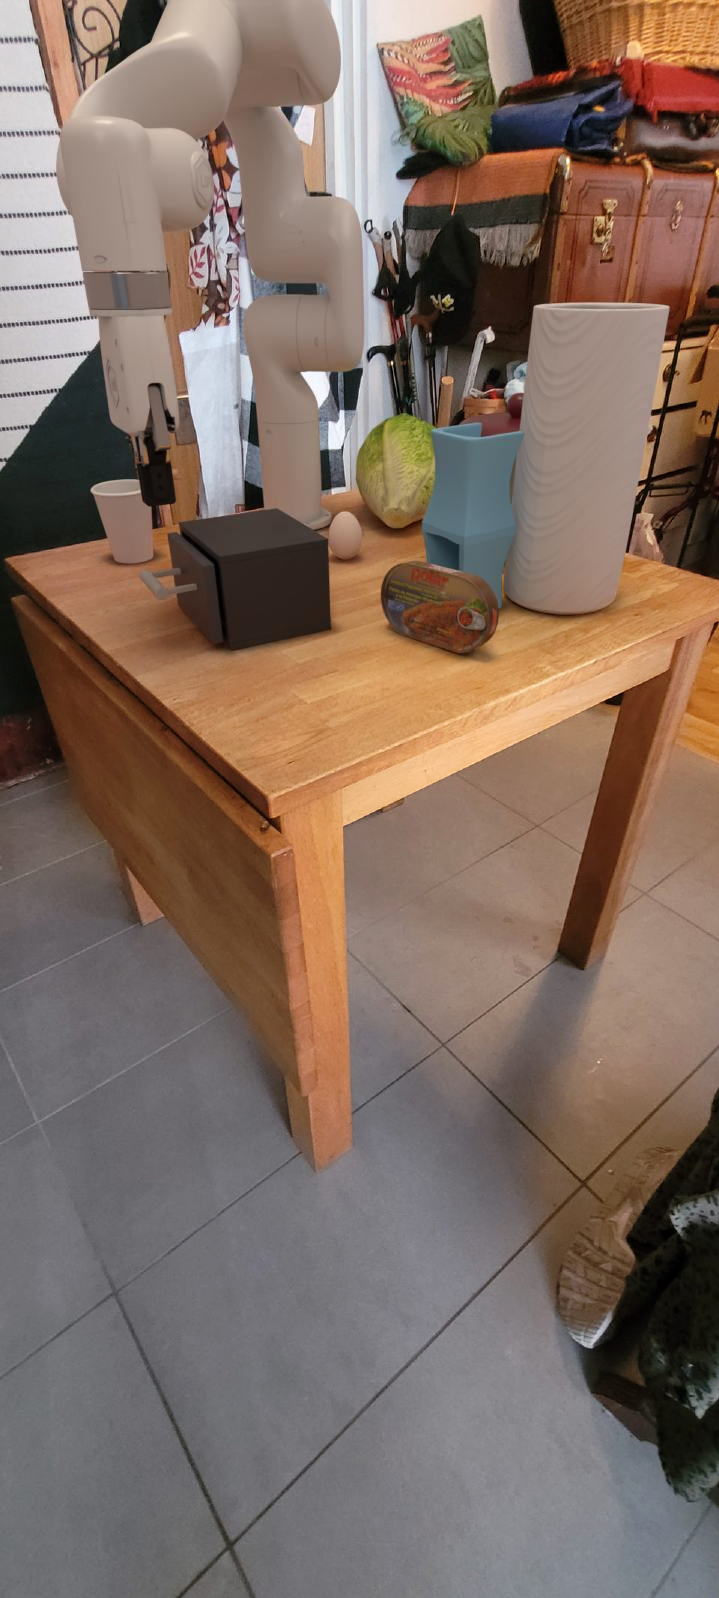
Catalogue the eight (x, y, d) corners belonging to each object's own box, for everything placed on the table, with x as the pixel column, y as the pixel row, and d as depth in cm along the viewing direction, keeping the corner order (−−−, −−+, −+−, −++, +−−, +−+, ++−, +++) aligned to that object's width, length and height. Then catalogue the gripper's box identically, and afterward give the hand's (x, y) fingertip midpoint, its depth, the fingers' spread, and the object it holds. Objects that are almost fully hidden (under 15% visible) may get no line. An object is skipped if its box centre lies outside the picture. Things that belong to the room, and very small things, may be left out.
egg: (322, 560, 111) (320, 512, 107) (341, 551, 114) (341, 505, 111) (349, 566, 109) (348, 518, 105) (368, 557, 112) (368, 510, 108)
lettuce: (447, 564, 124) (352, 572, 127) (456, 476, 137) (370, 485, 141) (436, 482, 112) (332, 493, 115) (448, 394, 125) (354, 406, 129)
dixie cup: (104, 568, 109) (90, 495, 103) (104, 551, 116) (90, 481, 110) (164, 563, 111) (153, 490, 105) (160, 546, 117) (150, 477, 112)
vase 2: (543, 625, 91) (587, 310, 73) (481, 587, 102) (505, 304, 83) (640, 606, 95) (703, 306, 77) (570, 571, 106) (611, 300, 88)
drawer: (172, 653, 83) (159, 573, 78) (140, 612, 93) (127, 539, 88) (307, 624, 89) (303, 549, 84) (264, 589, 99) (258, 519, 94)
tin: (378, 627, 91) (379, 556, 86) (395, 619, 93) (397, 549, 88) (482, 663, 83) (489, 587, 78) (499, 654, 84) (507, 579, 80)
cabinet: (230, 650, 86) (219, 556, 80) (190, 608, 96) (178, 522, 90) (331, 629, 91) (328, 538, 84) (282, 590, 101) (277, 507, 95)
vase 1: (507, 606, 96) (525, 431, 84) (459, 620, 92) (471, 440, 81) (466, 588, 101) (478, 421, 90) (419, 600, 98) (425, 429, 86)
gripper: (71, 295, 75) (108, 492, 85) (105, 299, 64) (142, 525, 74) (147, 294, 78) (174, 485, 88) (193, 297, 67) (216, 515, 77)
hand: (159, 503), depth 81 cm, fingers closed
